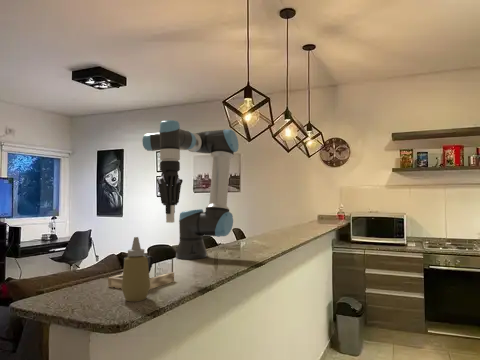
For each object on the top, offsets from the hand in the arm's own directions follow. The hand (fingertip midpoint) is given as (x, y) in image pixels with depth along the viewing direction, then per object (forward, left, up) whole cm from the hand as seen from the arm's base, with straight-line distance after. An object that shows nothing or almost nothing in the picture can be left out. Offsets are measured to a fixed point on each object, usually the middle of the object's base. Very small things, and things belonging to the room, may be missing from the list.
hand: (170, 222), depth 139 cm
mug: (+16, 0, -20) cm, 26 cm away
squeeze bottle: (+30, +12, -20) cm, 38 cm away
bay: (+14, 0, -20) cm, 24 cm away
